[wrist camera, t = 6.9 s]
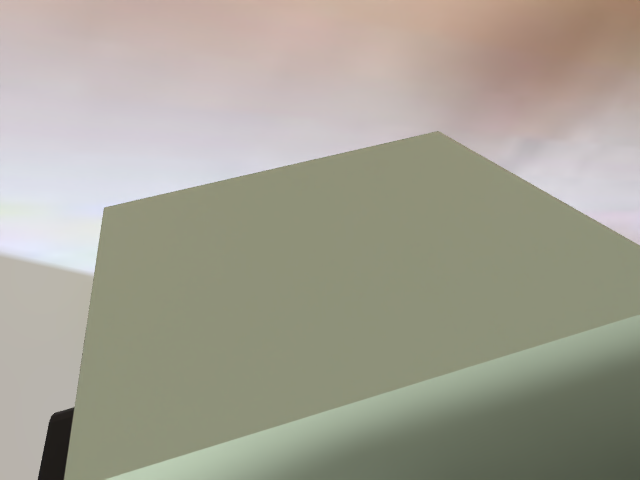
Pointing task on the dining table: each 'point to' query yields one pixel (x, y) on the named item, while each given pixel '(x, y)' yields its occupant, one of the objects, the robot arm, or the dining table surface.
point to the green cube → (360, 328)
